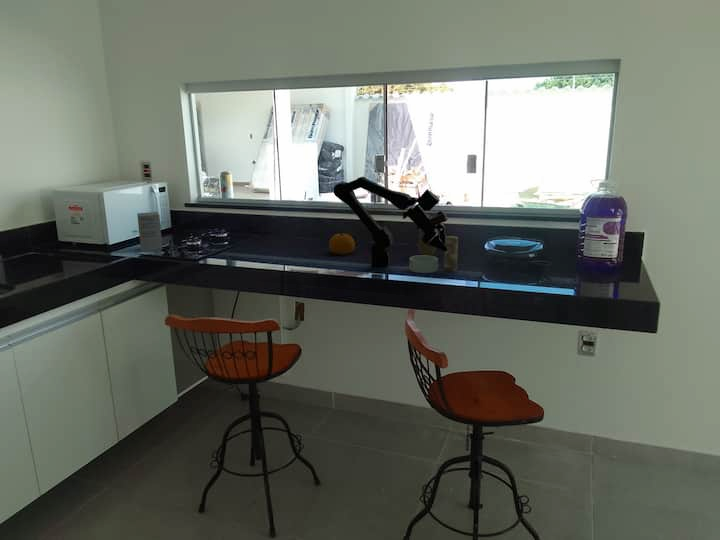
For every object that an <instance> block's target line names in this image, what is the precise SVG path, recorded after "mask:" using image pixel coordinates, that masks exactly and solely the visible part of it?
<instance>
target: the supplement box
mask: <svg viewBox="0 0 720 540" xmlns="http://www.w3.org/2000/svg"><path fill="white" fill-rule="evenodd" d="M136 215H137V225H138V233H139V241H140V249H141V252H142V251H146V252H152V251H151V250H156V251H160V250H159V249H163V240H162V237H163V236H162V231H161V219H160V218H161V217H160V214H159V212H158V211H152V212H138V213H137V214H136ZM163 250H164V249H163Z"/></svg>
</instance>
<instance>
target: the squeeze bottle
mask: <svg viewBox="0 0 720 540" xmlns="http://www.w3.org/2000/svg"><path fill="white" fill-rule="evenodd" d="M426 215H427V216H430V213H426ZM423 236H424V233H423V232H422V231H421V230H420V229H419V234H418V243H417V249H418V251H419V255H429V256H434V255H435V252H436V249H437V248H436V247H433V246H431V245H427V244H428V243H429V242H430V241H429V242H428V243H426V244H425V243H424V242H423V241H422V237H423Z"/></svg>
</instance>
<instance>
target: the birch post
mask: <svg viewBox="0 0 720 540" xmlns="http://www.w3.org/2000/svg"><path fill="white" fill-rule="evenodd" d="M446 236H447V235H446ZM444 245H445V246H446V248H447V251H446V252H445V251H444V254H443V255H444V260H443V261H444V263H443V264H444V265H443V270H444V271H446V272H457V271H458V248H459V247H458V246H459V237H458V236H453V235H449V236H447V237H445V244H444Z"/></svg>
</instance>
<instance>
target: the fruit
mask: <svg viewBox="0 0 720 540" xmlns="http://www.w3.org/2000/svg"><path fill="white" fill-rule="evenodd" d="M328 247H329V251H330V252H332V254H335V255H340V256H341V255H349V254H351V253H353V251H354V250H355V247H356V243H355V240H354V238H353V237H352V236H351V235H350V234H348V233H343V231H341V233H336V234H333V236H331V238H330V239H329V242H328Z"/></svg>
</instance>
